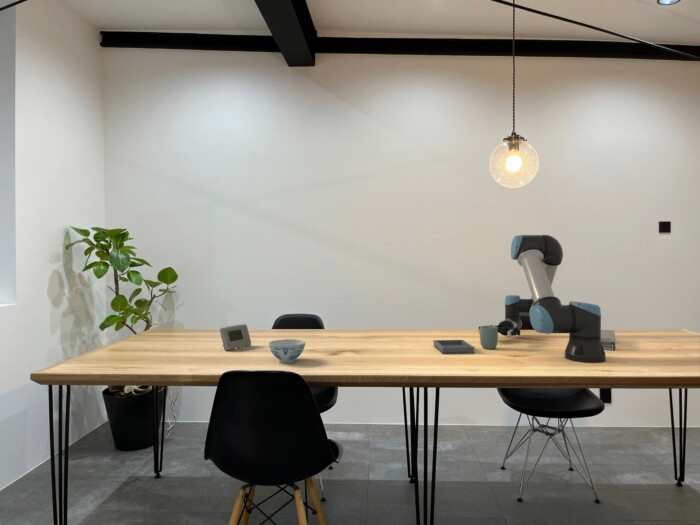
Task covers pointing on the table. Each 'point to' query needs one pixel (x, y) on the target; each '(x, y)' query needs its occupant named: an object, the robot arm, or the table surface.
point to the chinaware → (287, 349)
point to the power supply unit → (608, 339)
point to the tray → (453, 347)
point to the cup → (488, 336)
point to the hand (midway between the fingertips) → (493, 333)
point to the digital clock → (235, 336)
